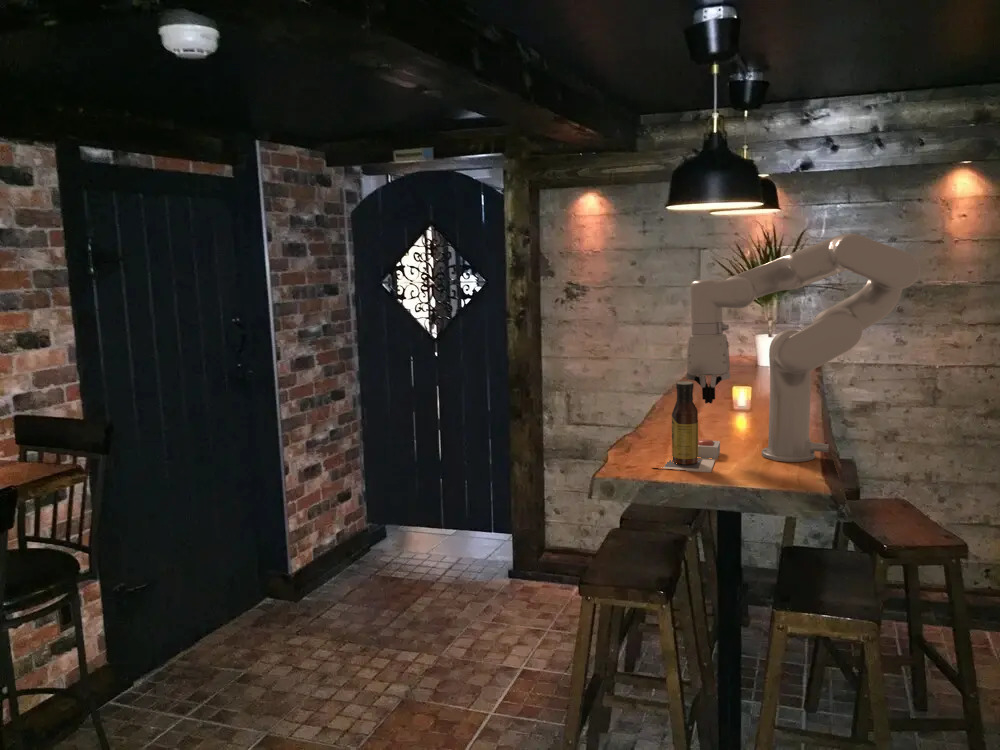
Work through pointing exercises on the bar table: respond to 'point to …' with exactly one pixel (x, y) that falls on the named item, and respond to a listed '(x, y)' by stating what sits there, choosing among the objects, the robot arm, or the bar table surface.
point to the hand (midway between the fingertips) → (708, 402)
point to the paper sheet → (693, 465)
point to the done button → (705, 442)
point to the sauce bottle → (685, 426)
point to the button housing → (709, 450)
